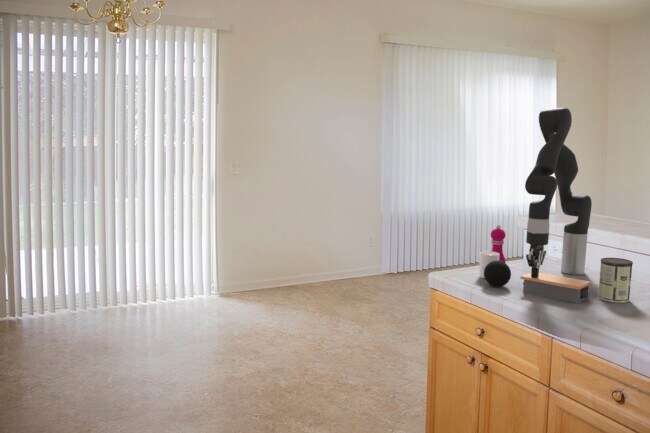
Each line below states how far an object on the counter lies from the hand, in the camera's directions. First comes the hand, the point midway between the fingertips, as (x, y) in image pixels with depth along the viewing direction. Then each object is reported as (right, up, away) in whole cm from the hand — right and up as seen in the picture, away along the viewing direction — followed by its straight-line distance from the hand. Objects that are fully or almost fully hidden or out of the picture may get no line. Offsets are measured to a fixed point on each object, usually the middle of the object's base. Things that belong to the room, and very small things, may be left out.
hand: (534, 277), depth 216 cm
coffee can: (+27, -8, -3) cm, 28 cm away
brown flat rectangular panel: (+7, -1, -1) cm, 7 cm away
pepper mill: (-4, -1, +35) cm, 35 cm away
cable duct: (+8, -6, +1) cm, 10 cm away
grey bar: (+7, -5, +1) cm, 9 cm away
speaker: (-11, -5, +12) cm, 16 cm away
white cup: (-10, -3, +26) cm, 28 cm away
